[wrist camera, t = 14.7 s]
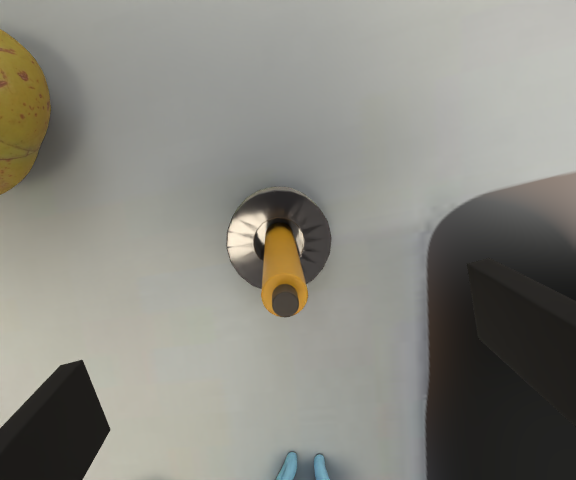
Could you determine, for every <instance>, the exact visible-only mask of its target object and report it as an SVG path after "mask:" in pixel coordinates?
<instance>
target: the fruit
mask: <svg viewBox="0 0 576 480" xmlns="http://www.w3.org/2000/svg"><path fill="white" fill-rule="evenodd" d="M50 112H51V105H50V95H49V90H48V86H47V82H46V79H45V76H44V74H43V72H42V70H41V68H40V66H39V65H38V63H37V62H36V60H35V59H34V57H33V56H32V55H31V54H30V53H29V52H28V51H27V50H26V49H25V48H24V47H23V46H22V45H21V44H20V43H19V42H18V41H16V40H15V39H14V38H12V37H11V36H10V35H8V34H7V33H6V32H4V31H2V30H1V29H0V195H1V194H3V193H5V192H7V191H8V190H10V189H12V188H13V187H14V186H16V185H17V184H18V183H19V182H21V181H22V180H23V179H24V178H25V176H26V175H27V174H28V173H29V172H30V170H31V168H32V166H33V164H34V162H35V159H36V157H37V155H38V151H39V148H40V146H41V143H42V141H43V139H44V137H45V134H46V131H47V128H48V124H49V118H50Z"/></svg>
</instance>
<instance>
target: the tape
mask: <svg viewBox="0 0 576 480" xmlns="http://www.w3.org/2000/svg"><path fill="white" fill-rule="evenodd" d="M274 223H284V224H286V225H288V226H289V227H290V228H291V230H292V232H293V236H294V240H295V244H296V248H297V251H298V255H299V259H300V263H301V267H302V271H303V275H304V278H305V282H306V284H307V283H309V282H310V281H312V279H314V278H315V277H316V276H317V275H318V274H319V272H320V271H321V270H322V269H323V267H324V266H325V263H326V261H327V259H328V256H329V253H330V247H331V234H330V229H329V225H328V221H327V220H326V218H325V216H324V215H323V213H322V211H321V210H320V208H319V207H318V206H317V205H316V204H315V202H313V201H312V200H311V199H310V198H309V197H308V196H306V195H305V194H303V193H302V192H299V191H297V190H294V189H292V188H289V187H270V188H265V189H262V190H259V191H257V192H255V193H254V194H252V195H251V196H249V197H247V198H246V199H245V200H244V201H243V203H242V204H241V205H240V206H239V207H238V209H237V210H236V212H235V213H234V215H233V217H232V220H231V222H230V225H229V227H228V231H227V251H228V254H229V258H230V261H231V263H232V265H233V266H234V268H235V269H236V271H237V272H238V274H239V275H240V276H241V277H242V278H243V279H245V280H246V281H247V282H248V283H250V284H251V285H253V286H255V287H258V288H260V289H262V278H263V263H264V249H265V234H266V231H267V229H268V228H269V226H271V225H272V224H274Z"/></svg>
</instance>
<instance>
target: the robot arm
mask: <svg viewBox="0 0 576 480" xmlns="http://www.w3.org/2000/svg"><path fill="white" fill-rule="evenodd" d="M467 267H468V274H469V281H470V287H471V293H472V300H473V307H474V313H475V319H476V326H477V333H478V338H479V339H480V340H481V341H482V342H483V343H484V344H485V345H486V346H487V347H488V348H490V349H491V350H492V351H493V352H494V353H495V354H496V355H497V356H498V357H500V358H501V359H502V360H503V361H504V362H505V363H506V364H507V365H508V366H509V367H511V368H512V369H513V370H514V371H515V372H516V373H517V374H518V375H519V376H521V378H523V379H524V380H525V381H526V382H527V383H528V384H529V385H530V386H531V387H533V388H534V389H535V390H536V391H537V392H538V393H539V394H540V395H541V396H542V397H543V398H544V399H546V400H547V401H548V402H549V403H550V404H551V405H552V406H553V407H554V408H555V409H557V410H558V411H559V412H560V413H561V414H562V415H563V416H564V417H565V418H567V419H568V420H569V421H570V422H571V423H572V424H573V425H574V426H575V427H576V301H574V300H572V299H570V298H568V297H566V296H564V295H562V294H560V293H558V292H556V291H554V290H552V289H550V288H548V287H546V286H544V285H542V284H540V283H538V282H536V281H534V280H532V279H530V278H528V277H526V276H524V275H522V274H520V273H518V272H516V271H514V270H512V269H510V268H508V267H506V266H504V265H502V264H500V263H498V262H496V261H494V260H492V259H490V258H488V259H484V260H480V261H476V262H472V263H468V264H467ZM109 431H110V427H109V425H108V422H107V420H106V417H105V415H104V412H103V410H102V407H101V405H100V402H99V400H98V397H97V395H96V392H95V390H94V387H93V385H92V382H91V380H90V377H89V375H88V372H87V370H86V367H85V365H84V362H83V360H80V361H76V362H72V363H68V364H64V365H60V366H59V367H58V368H57V369H56V371H55V372H54V373H53V374H52V375H51V376H50V377H49V378H48V379H47V380H46V381H45V382H44V383H43V384H42V385H41V386H40V387H39V388H38V389H37V390H36V391H35V393H34V394H33V395H32V396H31V397H30V398H29V399H28V400H27V401H26V402H25V403H24V404H23V405H22V406H21V407H20V408H19V409H18V410H17V411H16V412H15V413H14V415H13V416H12V417H11V418H10V419H9V420H8V421H7V422H6V423H5V424H4V425H3V426H2V427H1V428H0V480H83V478H84V476H85V474H86V472H87V471H88V469H89V467H90V465H91V464H92V462H93V460H94V458H95V456H96V455H97V453H98V451H99V449H100V447H101V446H102V444H103V442H104V440H105V438H106V437H107V435H108V433H109Z"/></svg>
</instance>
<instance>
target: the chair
mask: <svg viewBox="0 0 576 480" xmlns="http://www.w3.org/2000/svg"><path fill="white" fill-rule="evenodd" d="M296 470H297V456H296V454H295V453H294V452H290V453H289V454H288V455H287V457H286V460H285V462H284V464H283V467H282V469H281V471H280V473H279V475H278V476H277V478H276V480H293V479H294V476H295V473H296ZM314 470H315V478H316V480H330V479H329V476H328V473H327V470H326V467H325V460H324V456H323V455H320V454H319V455H317V456H316V457H315V459H314Z"/></svg>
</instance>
